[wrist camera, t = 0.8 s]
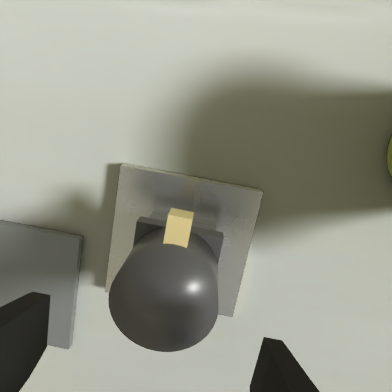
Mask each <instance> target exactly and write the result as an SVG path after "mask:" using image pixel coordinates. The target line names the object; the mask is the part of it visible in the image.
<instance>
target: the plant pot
mask: <svg viewBox="0 0 392 392" xmlns="http://www.w3.org/2000/svg"><path fill="white" fill-rule="evenodd" d="M387 165H388V170H389V172H390V174H391V176H392V136H391V139H390V142H389V146H388V152H387Z"/></svg>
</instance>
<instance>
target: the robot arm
mask: <svg viewBox="0 0 392 392" xmlns="http://www.w3.org/2000/svg"><path fill="white" fill-rule="evenodd" d="M50 297H51V295H48V294H43V293H38V292H31V293H28V294H26V295H24V296H22V297H20V298H18V299H16V300H14V301H12V302H10V303H8V304H6V305H4V306H2V307H0V392H19V391H20V389H21V388H22V387H23V385H24V384H25V382H26V381H27V380H28V378H29V377H30V375H31V373H32V372H33V370H34V368H35V367H36V365H37V363H38V361H39V360H40V358H41V356H42V354H43V352H44V351H45V349H46V347H47V337H48V324H49V310H50ZM250 392H319V390H318V389H317V388H316V386H315V385H314V384H313V383H312V381H311V380H310V378H309V377H308V376H307V374H306V373H305V372H304V370H303V369H302V367H301V366H300V365H299V363H298V362H297V361H296V359H295V358H294V356H293V355H292V353H291V352H290V351H289V349H288V348H287V347H286V345H285V344H284V343H283V341H281V340H276V339H271V338H266V337H264V338H263V342H262V346H261V349H260V353H259V356H258V360H257V363H256V367H255V370H254V374H253V377H252V381H251V384H250Z"/></svg>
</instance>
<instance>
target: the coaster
mask: <svg viewBox="0 0 392 392" xmlns="http://www.w3.org/2000/svg"><path fill="white" fill-rule="evenodd" d="M82 239H83V236H80V235H74V234H69V233H64V232H59V231H54V230H49V229H44V228H39V227H34V226H28V225H23V224H18V223H13V222H8V221H3V220H0V307H2V306H4V305H6V304H8V303H10V302H12V301H14V300H16V299H18V298H20V297H22V296H24V295H26V294H28V293H31V292H38V293H43V294H48V295H51V297H50V310H49V324H48V337H47V345H50V346H55V347H60V348H65V349H69V348H70V346H71V345H72V339H73V329H74V319H75V309H76V299H77V289H78V279H79V269H80V259H81V249H82Z"/></svg>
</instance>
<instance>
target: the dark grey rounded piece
mask: <svg viewBox="0 0 392 392" xmlns="http://www.w3.org/2000/svg"><path fill="white" fill-rule="evenodd" d="M193 215H194V212H190V211H185V210H180V209H175V208H171V210H170V212H169V214H168V218H167V221H163V220H158V219H153V218H147V217H142V216H140V217H139V219H138V220H137V222H136V229H135V236H134V243H133V249H132V251H131V252H130V254H129V255H128V257H127V259H126V260H125V262H124V263H123V265H122V267H121V268H120V270H119V271H118V273H117V275H116V276H115V278H114V280H113V282H112V284H111V287H110V291H109V308H110V312H111V315H112V318H113V320H114V322H115V324H116V325H117V327H118V328H119V329H120V331H121V332H122V333H123V334H124V335H125V336H126V337H127V338H129V339H130V340H131V341H133V342H134V343H136V344H138V345H140V346H142V347H144V348H147V349H150V350H154V351H161V352H173V351H179V350H183V349H186V348H189V347H191V346H193V345H195V344H197V343H198V342H200V341H201V340H202V339H204V338H205V337H206V336H207V335H208V333H209V332H210V331H211V329H212V328H213V326H214V324H215V322H216V319H217V315H218V261H219V257H220V252H221V248H222V243H223V239H224V236H223V232H219V231H214V230H209V229H204V228H199V227H194V226H191V225H192V220H193Z"/></svg>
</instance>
